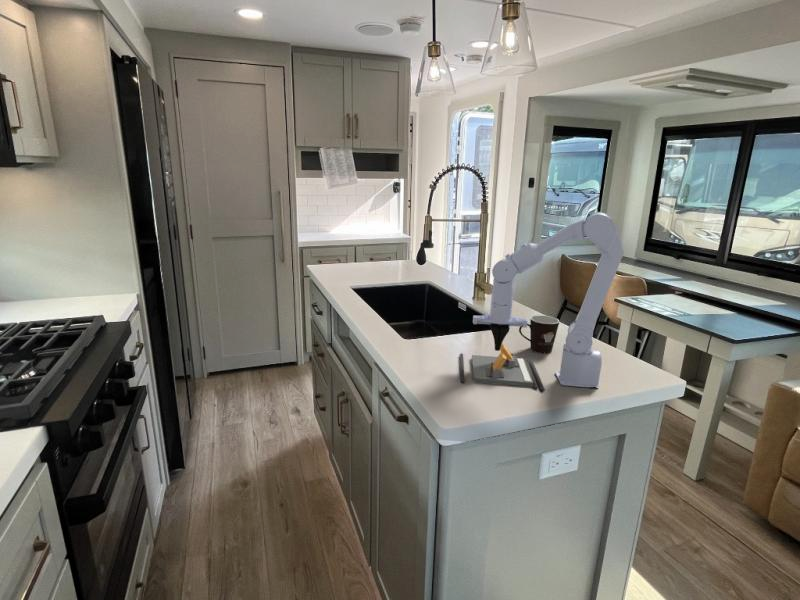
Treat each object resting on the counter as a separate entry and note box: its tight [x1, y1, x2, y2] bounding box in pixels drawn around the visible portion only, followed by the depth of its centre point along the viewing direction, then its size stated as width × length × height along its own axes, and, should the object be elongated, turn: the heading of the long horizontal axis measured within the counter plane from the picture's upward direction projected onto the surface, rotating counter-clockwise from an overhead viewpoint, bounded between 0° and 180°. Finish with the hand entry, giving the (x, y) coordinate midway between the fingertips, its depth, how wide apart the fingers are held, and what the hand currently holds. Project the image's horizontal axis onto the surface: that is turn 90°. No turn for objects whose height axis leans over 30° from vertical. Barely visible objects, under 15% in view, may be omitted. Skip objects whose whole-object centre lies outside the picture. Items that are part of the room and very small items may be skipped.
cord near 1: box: [528, 359, 546, 392], centre depth 124 cm, size 1×19×1 cm, turn 173°
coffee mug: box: [518, 314, 560, 355], centre depth 143 cm, size 12×9×10 cm
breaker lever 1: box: [492, 351, 507, 370], centre depth 121 cm, size 1×4×5 cm, turn 174°
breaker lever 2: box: [500, 342, 514, 361], centre depth 129 cm, size 1×4×5 cm
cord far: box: [459, 352, 466, 384], centre depth 127 cm, size 1×19×1 cm, turn 174°
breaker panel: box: [471, 352, 534, 388], centre depth 126 cm, size 15×16×3 cm
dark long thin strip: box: [525, 360, 539, 390], centre depth 124 cm, size 1×17×1 cm, turn 173°
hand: (497, 349), depth 129 cm, fingers closed, pressing on breaker lever 2
